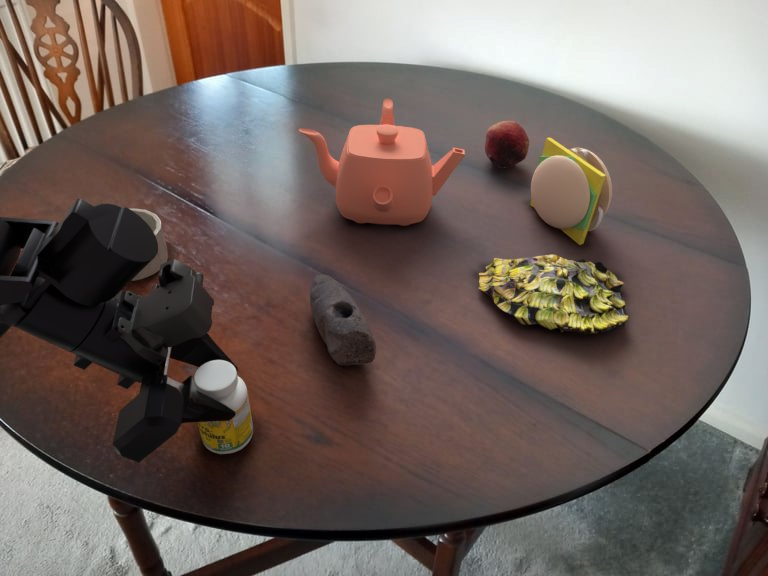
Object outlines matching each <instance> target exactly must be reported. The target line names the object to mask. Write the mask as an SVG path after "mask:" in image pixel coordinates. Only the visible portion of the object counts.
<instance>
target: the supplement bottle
mask: <svg viewBox="0 0 768 576" xmlns="http://www.w3.org/2000/svg"><path fill="white" fill-rule="evenodd" d="M193 381H194V384H195V388H196V390H198V391H200V392H202V393H204V394H205V395H207V396H209V397H211V398H213V399H215V400H217V401H219V402H221V403H222V404H224V405H226V406H228V407H229V408H230V409H232V410H233V411H235V412H236V415H235V417H234V418H232V419H231V420H229V421H211V422H196V423H197V426H198V430H199V434H200V438H201V441H202V444H203V445H204V447H205V448H206V449H207V450H209V451H210V452H211V453H215V454H218V455H227V454H234V453H236V452H238V451H239V452H240V451H241V450H242V449H244V448H245V447H246V446H247V445H248V444H249V442H250V441H251V439H252V437H253V434H254V423H253V417H252V411H251V404H250V399H249V392H248V388H247V385H246V383H245V381H244V380H243V378H241V377H240V376H239V375H238V371H237V372H236V369H235V367H234V366H233V365H232V364H231V363H230V362H227V361H224V360H213V361H209V362H207V363H205V364H203V365H202V366H200V367H197V369H196V371H195V372H194V376H193Z"/></svg>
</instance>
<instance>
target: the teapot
mask: <svg viewBox="0 0 768 576" xmlns="http://www.w3.org/2000/svg"><path fill="white" fill-rule="evenodd" d="M298 131H299V132H300V133H301V134H303V135H304V136H305V137H307V138H308V139H309V140H310V141H311V143H312V144H313V147H314V149H315V153H316V158H317V164H318V168H319V171H320V173H321V175H322V177H323V179H324V180H325V181H326V182H327V183H328V184H329V185H331V186H333V187H335V204H336V206H337V210H338V211H339V213H340V214H341V216H342V218H345V219H348V220H352V221H354V222H355V223H357V224H366V223H369V224H375V225H398V226H403V227H406V226H410V225H411V224H416V223H420V222H422V221H423V220H424V219H425V218H426V217H427V215H428V214H429V212H430V210H431V208H432V202H433V197H435V196H437V194H438V192H439V191H440V190H441V188H443V186H444V184H445V183H446V182H447V180H448V179H449V178H450V177H451V175H452V174H453V172H454V171H455V170H456V168H457V167H458V165H459V164H460V163H461V161H462V160H463V159H464V157H465V155H466V151H465V149H464V148H459V147H454V146H452V148H451V149H450V150H449V151H448V152H447V153H446V154H445V155H444V156H442V158H440V159H439V160H438V161H437V162H435V164H432V161H431V154H430V151H429V147H428V142H427V139H426V138H427V137H426V135H425V133H424V131H423V130H421V129H419V128H415V127H411V126H402V125H396V124H395V116H394V101H393V100H392V99H391V98H384V100H383V102H382V111H381V117H380V121H379V124H358V125H354V126H352V127H351V128H350V130H349V132H348V134H347V138H346V140H345V143H344V146H343V149H342V152H341V154H340V157H339V161H338V160H337V159H334V158H333V157H332V156H331V154H330V152H329V148H328V144H327V141H326V139H325V138H324V136H323V135H322V134H321V133H320V132H318V131H316V130H313V129H311V128H310V129H309V128H299V129H298Z"/></svg>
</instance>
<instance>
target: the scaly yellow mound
mask: <svg viewBox="0 0 768 576" xmlns="http://www.w3.org/2000/svg"><path fill="white" fill-rule="evenodd" d="M485 269H486V271H485V272H478V276H479V280H478V283H479V286H478V290H480V291H482V292H484V293H485V294H486V295H488V296H489V297H490V299H492V300H493V302H494V304H495V305H496V306H497V307H498V308H499V309H500V310H502V311H503V312H504V313H506V314H507V316H509V317H511V319H513V320H515V321H516V322H517V323H518V324H520V325H527V326H529V325H540V326H542V327H544V328H546V329H548V330H550V331H552V330H555V329H559V330H560V333H563V332H564V331H565V332H573V333H580V334H583V335H585V334H586V335H597V334H598V333H599V334H601V333H604V332H613V331H615V330H618V329H620V328H622V327H625V326H626V323H627V321H628V320H629V317H630V316H629V315H627V314H626V313H625V308H626V302H625V301H624V299H623V297H622V291H621V289H622V288H623V286H624V285H625V282H624V281H621V280H619V279H618V278H617V276H616V275H615V274H614V273H613V272H612V271H610V270H609V269H608V267H606V266H605V265H604V263H603V262H602V261H597V262H595V263H593V262H592V261H586V260H585V259H577V260H576V259H567V258H564V257H562V256H559V255H557V254H546V255H537V256H528V257H522V258H514V259H507V258H506V259H505V258H498V257H494V258H493V261H492V262H491V263H489V265H486V266H485Z"/></svg>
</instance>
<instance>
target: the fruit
mask: <svg viewBox="0 0 768 576" xmlns="http://www.w3.org/2000/svg"><path fill="white" fill-rule="evenodd" d="M529 149H530V139H529V136H528V133H527V132H526V130H525V129H524V127H523V126H522V125H521V124H519V122H516V121H514V120H502V121H499V122H497V123H495V124H492V125H491V126H490V127H489V128H488V129H487V131H486V134H485V140H484V152H485V155H486V157H487V158H488V160H489V161H490V163H492V165H494V166H496V167H498V168H500V169H508V168H511V167H514V166H516V165H518V164H519V163H521V162H523V161H524V160H525V159H526V158H527V155H528V153H529Z"/></svg>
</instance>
